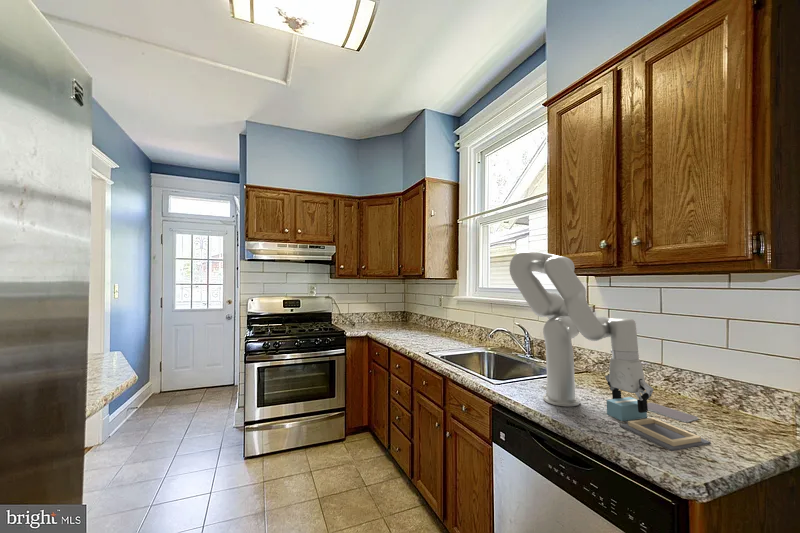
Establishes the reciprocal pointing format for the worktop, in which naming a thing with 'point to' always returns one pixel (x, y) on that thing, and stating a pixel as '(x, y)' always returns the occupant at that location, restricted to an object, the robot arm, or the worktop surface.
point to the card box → (624, 409)
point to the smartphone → (671, 413)
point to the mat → (664, 434)
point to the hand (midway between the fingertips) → (629, 407)
